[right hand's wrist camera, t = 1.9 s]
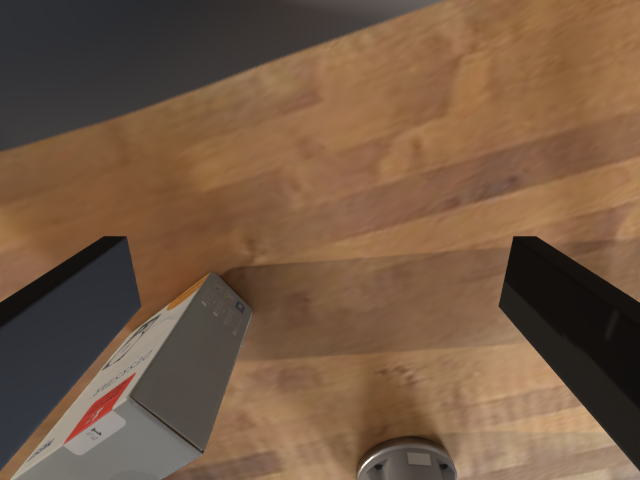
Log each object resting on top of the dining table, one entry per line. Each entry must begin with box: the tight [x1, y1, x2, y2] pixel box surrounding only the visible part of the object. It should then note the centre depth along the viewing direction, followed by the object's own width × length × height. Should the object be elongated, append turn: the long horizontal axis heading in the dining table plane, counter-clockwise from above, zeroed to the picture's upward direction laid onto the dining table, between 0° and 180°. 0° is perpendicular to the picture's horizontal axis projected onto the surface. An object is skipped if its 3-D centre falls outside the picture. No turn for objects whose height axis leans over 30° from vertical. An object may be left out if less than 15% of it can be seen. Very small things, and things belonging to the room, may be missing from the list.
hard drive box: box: [10, 271, 253, 480], centre depth 37 cm, size 16×8×20 cm, turn 128°
